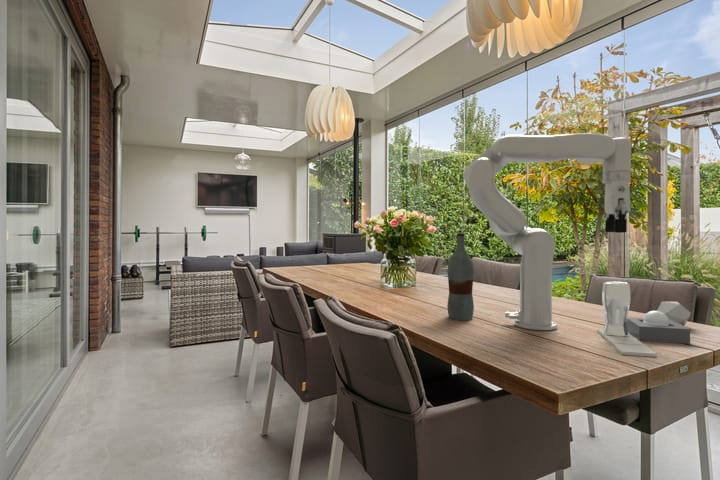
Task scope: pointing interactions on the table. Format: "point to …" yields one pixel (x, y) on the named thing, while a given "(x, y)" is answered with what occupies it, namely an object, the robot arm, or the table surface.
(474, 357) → the table surface
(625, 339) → the coaster
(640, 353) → the coaster
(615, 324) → the beer glass
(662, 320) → the dome
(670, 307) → the die
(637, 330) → the box
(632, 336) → the coaster
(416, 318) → the table surface
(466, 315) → the bottle
